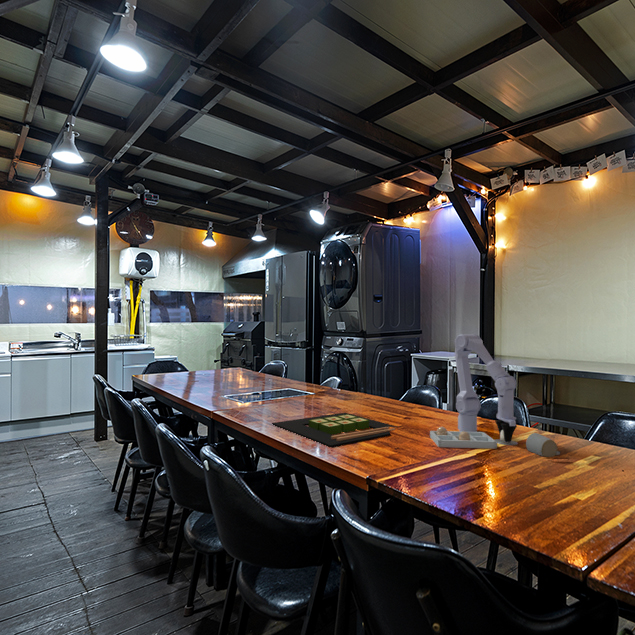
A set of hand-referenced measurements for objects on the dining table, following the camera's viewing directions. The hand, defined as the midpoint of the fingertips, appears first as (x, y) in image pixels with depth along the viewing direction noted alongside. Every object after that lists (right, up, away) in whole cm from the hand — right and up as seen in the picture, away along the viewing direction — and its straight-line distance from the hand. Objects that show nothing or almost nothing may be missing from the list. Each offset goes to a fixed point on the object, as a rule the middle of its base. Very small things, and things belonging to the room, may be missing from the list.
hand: (505, 440), depth 171 cm
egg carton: (-18, -2, -1) cm, 18 cm away
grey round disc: (0, -2, 0) cm, 2 cm away
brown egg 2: (-18, -1, -5) cm, 19 cm away
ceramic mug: (+8, -2, -14) cm, 16 cm away
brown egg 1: (-25, -1, +3) cm, 25 cm away
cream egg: (0, -1, 0) cm, 1 cm away
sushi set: (-66, -3, +24) cm, 70 cm away
